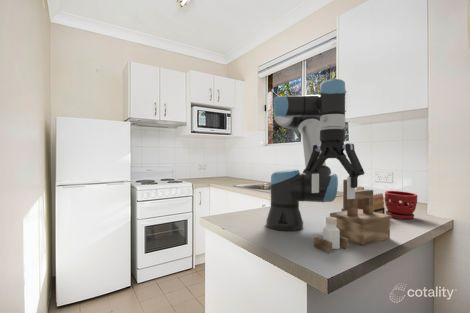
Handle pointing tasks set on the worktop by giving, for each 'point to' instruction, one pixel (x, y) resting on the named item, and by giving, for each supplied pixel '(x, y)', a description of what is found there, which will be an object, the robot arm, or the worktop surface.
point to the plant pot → (400, 204)
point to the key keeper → (329, 244)
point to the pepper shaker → (332, 232)
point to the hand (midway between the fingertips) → (331, 195)
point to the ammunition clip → (378, 203)
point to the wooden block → (360, 201)
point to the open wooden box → (364, 231)
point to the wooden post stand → (358, 214)
